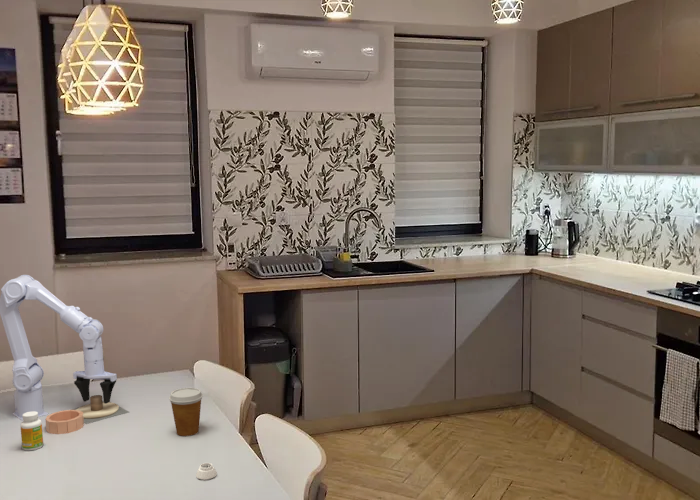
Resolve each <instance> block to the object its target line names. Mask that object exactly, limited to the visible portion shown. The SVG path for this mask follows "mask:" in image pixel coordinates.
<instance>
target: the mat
mask: <svg viewBox="0 0 700 500" xmlns="http://www.w3.org/2000/svg"><path fill="white" fill-rule="evenodd" d="M102 401H103V402H104V400H102ZM78 408H79V407H75V408H72V409H70V410H76V409H78ZM128 413H130V411H129V410H127V409H125V408H123V407H121V406H119V410H118V411H117V412H116V413H114V414H112V415H110V416H107V417H103V418H97V419H84V425H88V424H89V425H90V424H92V423H95V422H99V421H103V420H107V419H110V418H115V417H118V416H121V415H125V414H128Z"/></svg>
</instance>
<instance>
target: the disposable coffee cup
mask: <svg viewBox="0 0 700 500" xmlns="http://www.w3.org/2000/svg"><path fill="white" fill-rule="evenodd" d="M203 397H204V396H203V393H202V391H201V389H200V388H196V387H181V388H177V389H175V390H173V391H171V392H170V395H169V397H168V400H169V402H170V404H171V409H172V414H173V419H174V424H175V431H176V435H177V436H180V437H189V436H190V437H191V436H193V435H197V434H199V432H200V421H201V420H200V419H201V408H202V407H201V405H202V399H203Z"/></svg>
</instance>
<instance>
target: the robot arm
mask: <svg viewBox="0 0 700 500" xmlns="http://www.w3.org/2000/svg"><path fill="white" fill-rule="evenodd" d="M0 290H1V291H0V292H1V294H0V318H1V321H2V325H3V328H4V332H5V336H6V338H7V342H8V345H9V348H10V352H11V355H12V358H13V366H12V375H13V376H12V384H13V386H14V388H15V390H14V395H13V399H14V411H15V412H12V416H15V417H17V418H18V419H19V420H21V421H22V422H23V421H24V420H23V417H22V415H23V414H24V413H26V412H31V411H35V412H38V418H40V417H44V416H48V415H50V414H49V412H47V411H45V410H44V398H43V396H44V395H43V384H42V380H43V378H44V375H45V371H44V368H43V367H42V366H41V365H40V363H39V362H38V359H37V358H36V357H35V356H33V353H32V350H31V346H30V343H29V341H28V337H27V333H26V330H25V326H24V323H23V322H24V321H23V319H22V316H21V313H20V310H19V308H20V306H21V304H22V303H23V302H24V300H25V301H28V300H29V301H30V300H31V301H38V302H40V303H42V304H43V305H44V306H46V307H47V308H49V309H51V310H52V311H54V312H55V313H56V314H58V315H59V319H60V321H61V322H62V323H64V324H65V325H67V326H68V327H69V328H71V329H72V330H73V331H74V332H76V333H77V334H78V336H79V338H80V340H82V350H83V363H84V365H83V366H84V367H83V368H84V370H77V371H73V373H72V376H73V377H72V378H73V379H74V381H73V383H74V385H75V386H76V388H77V389H78V391H79V392H80V393H79V394H80V395H81V398H82V401H83V402H84V403H85V402H87V401H90V382H91V380H95V381H96V380H98V381H102V382H99V385H100V387H101V390H102V400H103V401H104V403H108V402H111V397H112V393H113V389H114V386H115V385H116V384H117V380H118V378H117V377H118V376H117V373H114V372H113V373H112V372H108V371H105V366H104V365H105V363H104V349H103V342H102V334H103V333H104V326H103V324H102V323H101V321H100V319H99V320H98V319H94V318H93V317H92V316H88V315H87V314H85V313H84V312H82V311H81V308H80V307H79V306H75V305H67V304H65V303H64V302H63V301H62V300H60V299H59V297H57V296H55V295H54V294H53V293H52V292H50V290H49V289H48V288H46V287H45V286H44V285H43V284H42V283H41V282H40V281H39V280H37V279H35V278H34V277H32V276H31V275H29V274H22V275H19V276H17V277H16V278H12V279H10V280H8V281H6V283H5V284H4V285H3V286H2V287H1V288H0Z"/></svg>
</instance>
